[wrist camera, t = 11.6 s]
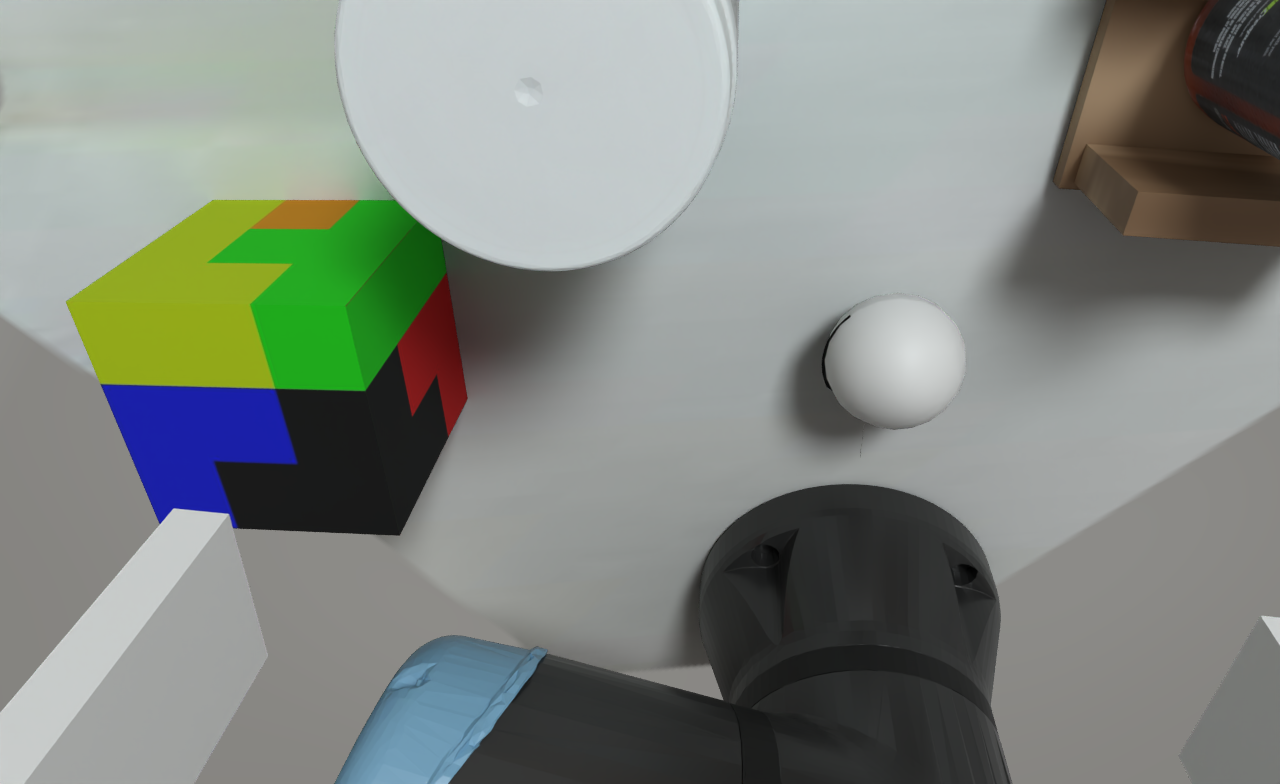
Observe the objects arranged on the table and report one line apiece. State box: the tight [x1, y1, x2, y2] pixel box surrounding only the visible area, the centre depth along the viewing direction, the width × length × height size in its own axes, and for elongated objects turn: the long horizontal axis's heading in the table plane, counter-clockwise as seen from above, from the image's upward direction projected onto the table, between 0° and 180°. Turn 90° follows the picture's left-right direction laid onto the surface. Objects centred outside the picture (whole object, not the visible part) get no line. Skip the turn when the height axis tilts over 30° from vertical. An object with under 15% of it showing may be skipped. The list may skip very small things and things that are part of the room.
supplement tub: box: [335, 0, 739, 271], centre depth 26 cm, size 10×10×15 cm
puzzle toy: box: [66, 200, 467, 536], centre depth 37 cm, size 10×10×10 cm
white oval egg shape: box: [822, 293, 966, 456], centre depth 37 cm, size 8×6×6 cm
